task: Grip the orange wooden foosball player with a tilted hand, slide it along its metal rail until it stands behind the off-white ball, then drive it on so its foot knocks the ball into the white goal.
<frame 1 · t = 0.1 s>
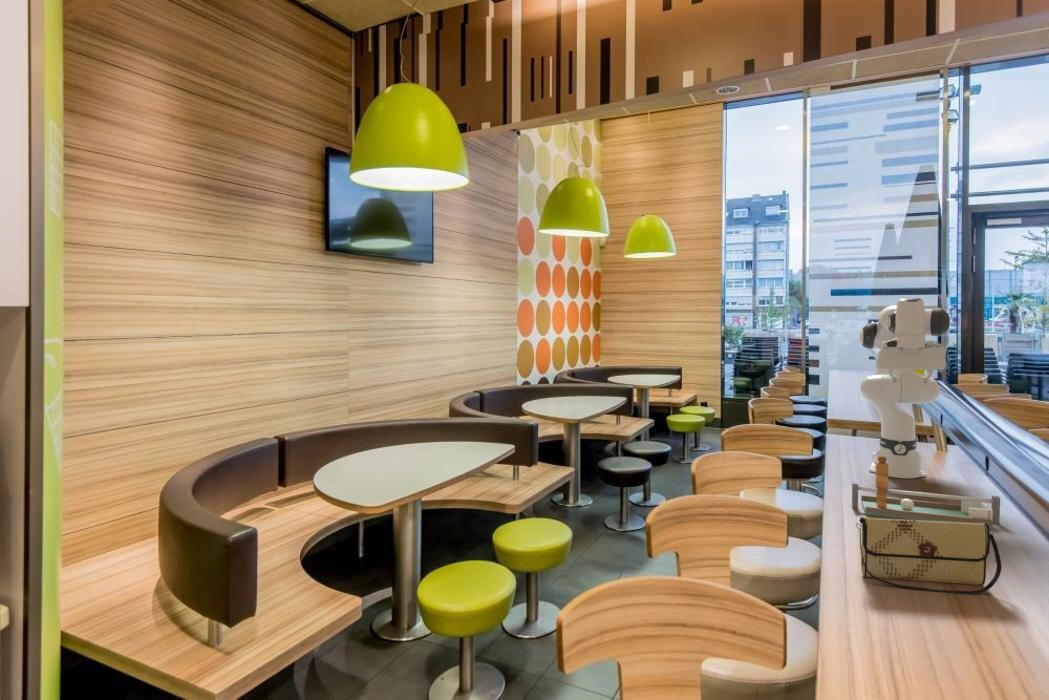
hand: (909, 382, 202), 39 cm above the counter, tool pointing down, fingers open, 8 cm apart
clutch purse: (926, 586, 136), on the counter
pitch: (921, 514, 181), on the counter
player: (881, 480, 185), point 10 cm above the counter, slide at 0.0 cm
ball: (907, 504, 182), point 3 cm above the counter, touching pitch
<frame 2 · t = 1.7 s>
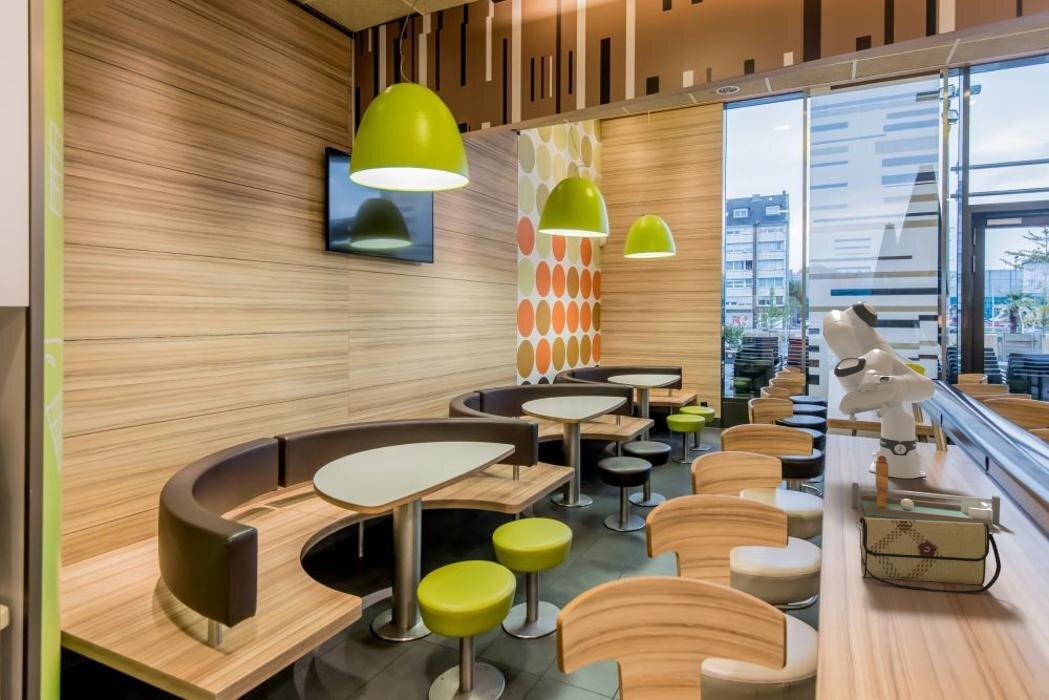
hand: (866, 418, 193), 28 cm above the counter, tool tilted 50°, fingers open, 8 cm apart
nothing on the counter moved.
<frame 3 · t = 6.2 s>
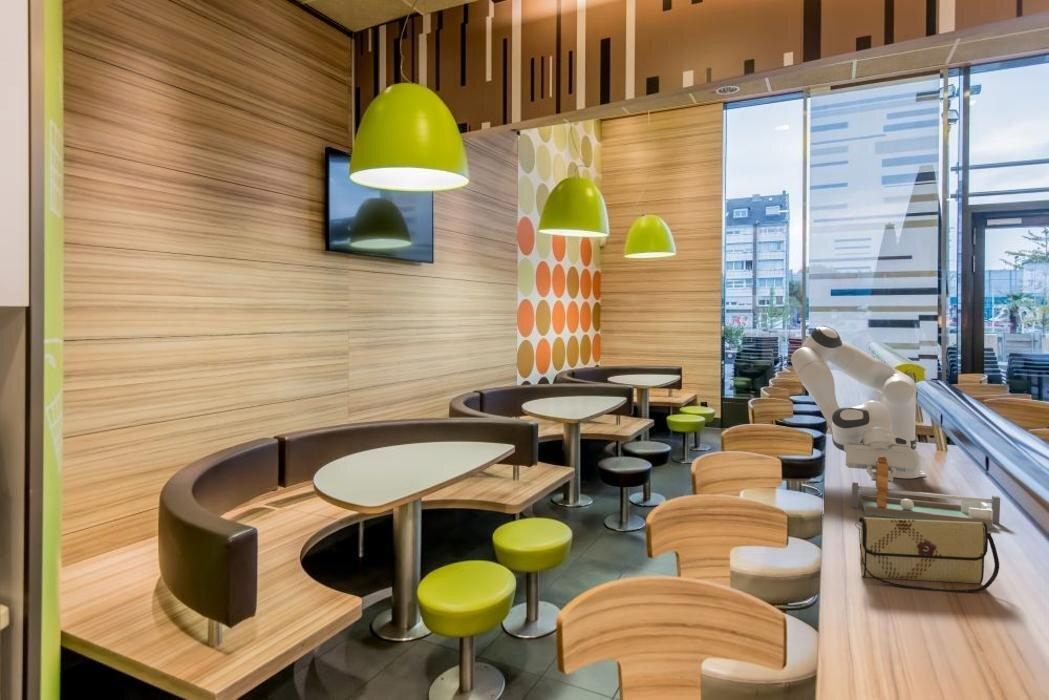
hand: (882, 480, 184), 10 cm above the counter, tool tilted 45°, fingers closed on player, 3 cm apart
player: (881, 480, 185), point 10 cm above the counter, slide at 0.0 cm, touching gripper
everything else where it was.
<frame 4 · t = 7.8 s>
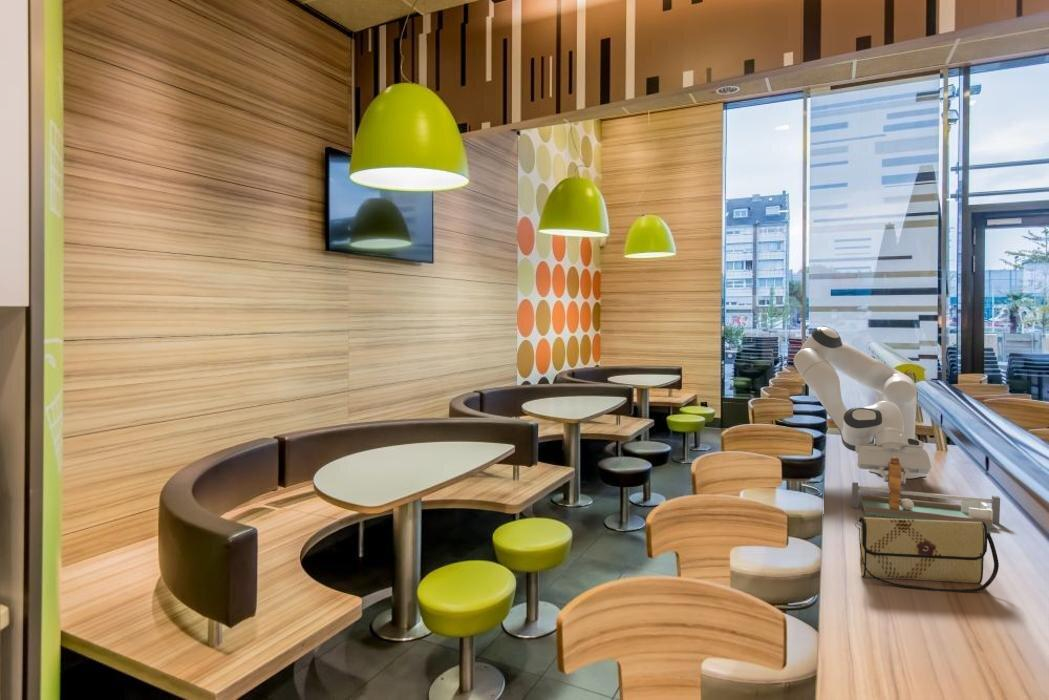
hand: (894, 481, 183), 10 cm above the counter, tool tilted 45°, fingers closed on player, 3 cm apart
player: (894, 481, 183), point 10 cm above the counter, slide at 3.4 cm, touching gripper
everything else where it was.
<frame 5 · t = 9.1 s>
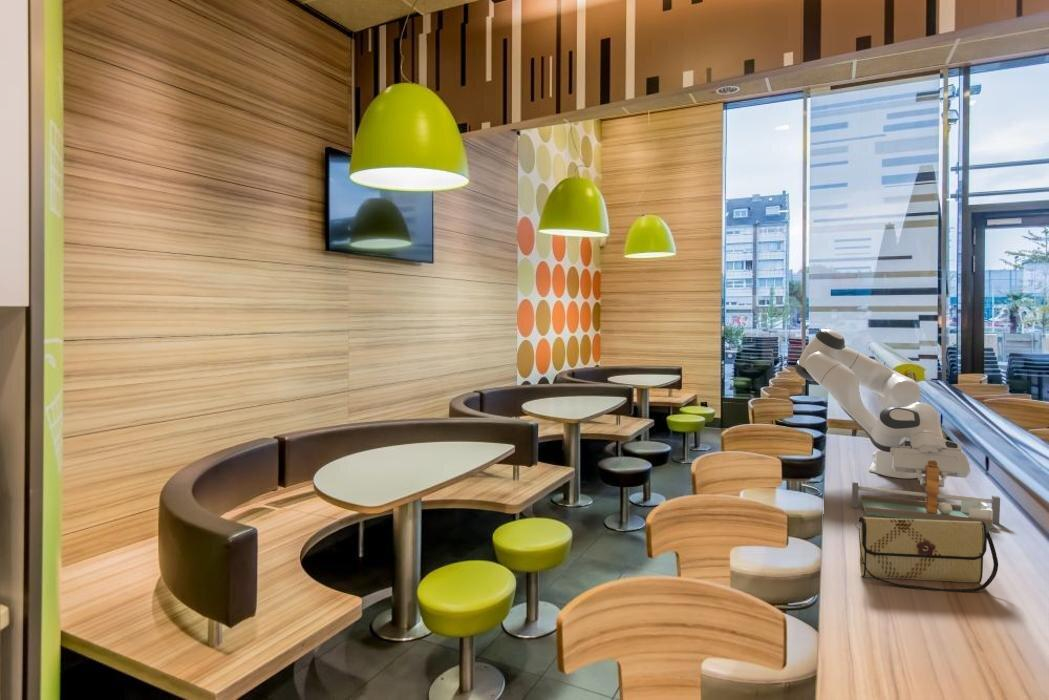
hand: (932, 485, 179), 10 cm above the counter, tool tilted 45°, fingers closed on player, 3 cm apart
player: (931, 485, 179), point 10 cm above the counter, slide at 13.4 cm, touching gripper
ball: (945, 508, 178), point 3 cm above the counter, tilted 46°, touching pitch
everything else where it was.
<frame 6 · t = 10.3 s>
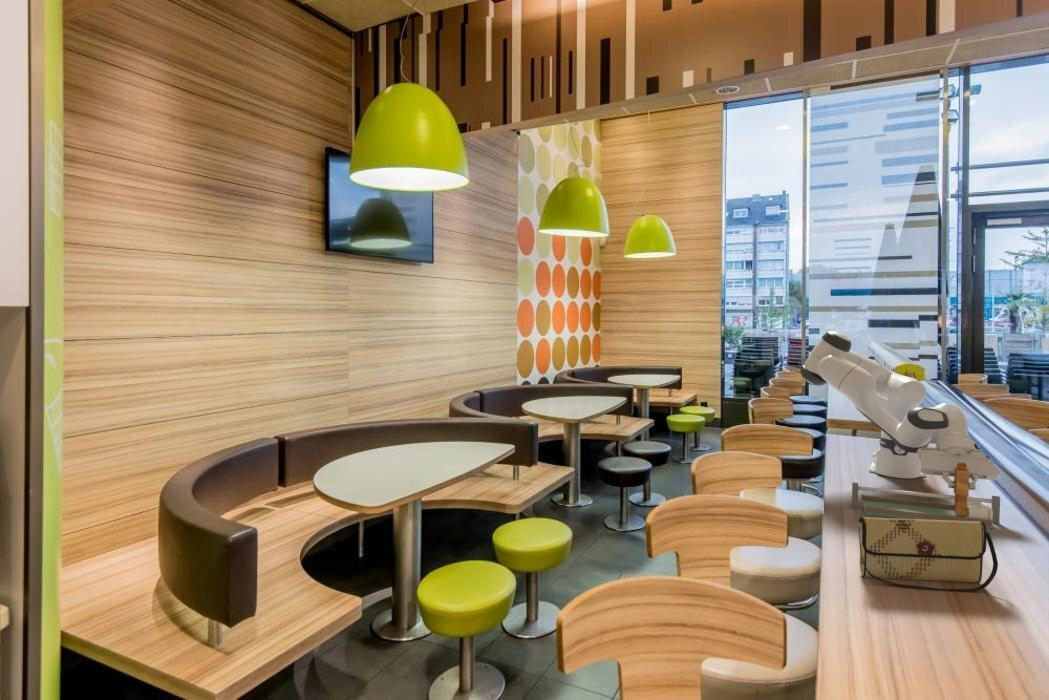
hand: (962, 488, 175), 10 cm above the counter, tool tilted 45°, fingers open, 4 cm apart
player: (961, 487, 176), point 10 cm above the counter, slide at 20.8 cm
ball: (973, 511, 175), point 3 cm above the counter, tilted 177°, touching pitch
everything else where it was.
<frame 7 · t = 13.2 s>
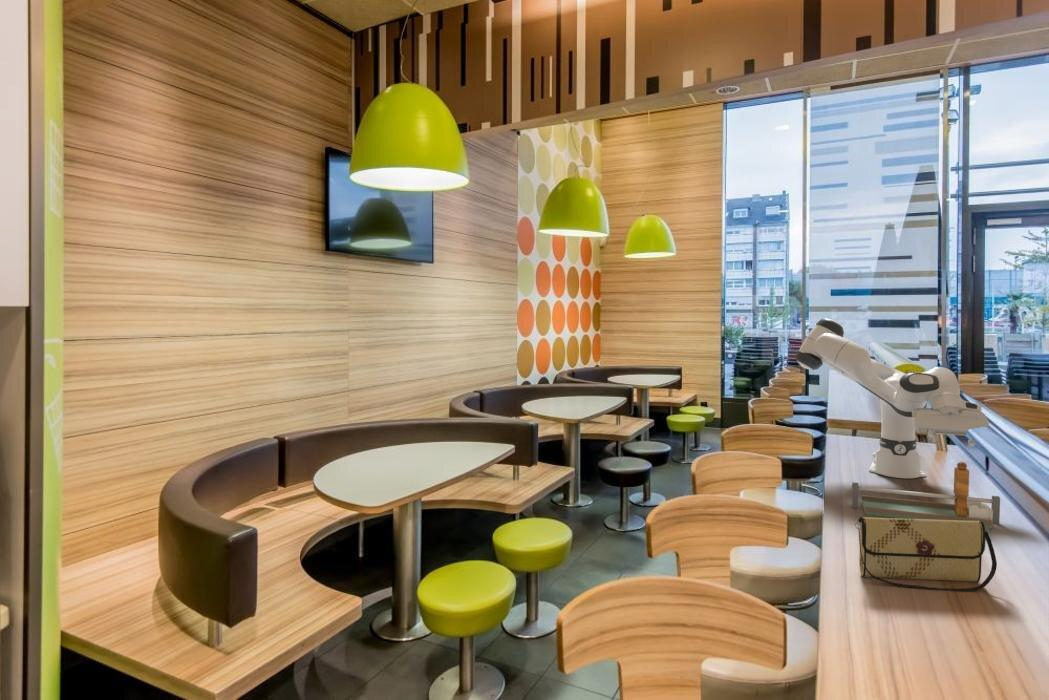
hand: (953, 444, 185), 21 cm above the counter, tool tilted 45°, fingers open, 8 cm apart
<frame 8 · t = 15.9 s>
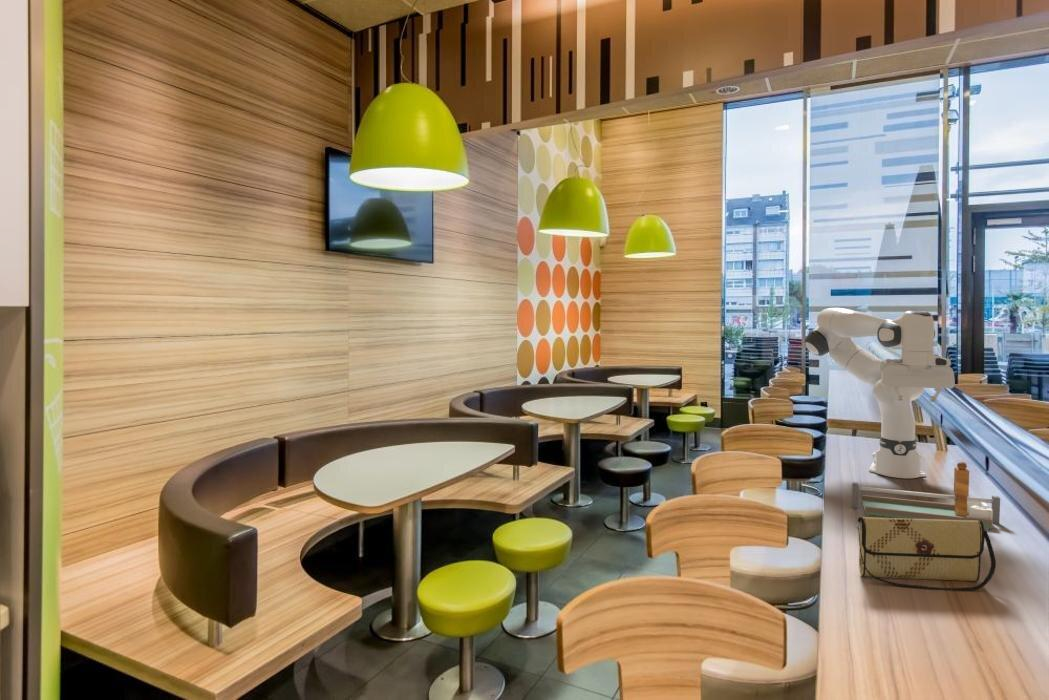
hand: (916, 400, 191), 34 cm above the counter, tool pointing down, fingers open, 8 cm apart
ball: (976, 511, 175), point 3 cm above the counter, tilted 159°, touching pitch
at the end: ball 0.1 cm from the target spot, point 2.8 cm above the counter; player slide at 20.8 cm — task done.
